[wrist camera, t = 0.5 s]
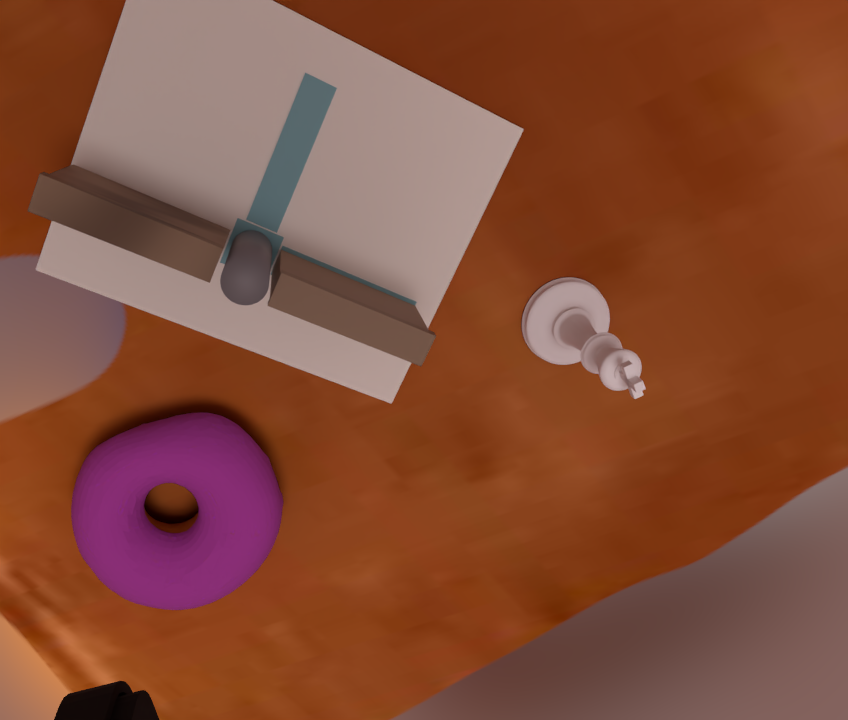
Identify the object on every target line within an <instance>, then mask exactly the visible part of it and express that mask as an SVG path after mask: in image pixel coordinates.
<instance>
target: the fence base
mask: <svg viewBox="0 0 848 720" xmlns="http://www.w3.org/2000/svg"><path fill="white" fill-rule="evenodd" d="M523 130H524V129H522V128H520V127H518V126H516V125H514V124H512V123H510V122H508V121H507V120H505V119H503V118H501V117H499V116H497V115H495V114H493V113H491V112H489V111H487V110H485V109H483V108H481V107H479V106H477V105H475V104H473V103H471V102H470V101H468V100H466V99H464V98H462V97H460V96H458V95H456V94H454V93H452V92H450V91H448V90H446V89H444V88H442V87H440V86H438V85H436V84H434V83H432V82H431V81H429V80H427V79H425V78H423V77H421V76H419V75H417V74H415V73H413V72H411V71H409V70H407V69H405V68H403V67H401V66H399V65H397V64H395V63H393V62H392V61H390V60H388V59H386V58H384V57H382V56H380V55H378V54H376V53H374V52H372V51H370V50H368V49H366V48H364V47H362V46H360V45H358V44H356V43H355V42H353V41H351V40H349V39H347V38H345V37H343V36H341V35H339V34H337V33H335V32H333V31H331V30H329V29H327V28H325V27H323V26H321V25H319V24H317V23H316V22H314V21H312V20H310V19H308V18H306V17H304V16H302V15H300V14H298V13H296V12H294V11H292V10H290V9H288V8H286V7H284V6H282V5H280V4H278V3H277V2H275V1H273V0H126V2H125V5H124V8H123V11H122V14H121V17H120V20H119V23H118V26H117V29H116V32H115V35H114V38H113V41H112V44H111V47H110V50H109V53H108V56H107V59H106V61H105V64H104V67H103V70H102V73H101V76H100V79H99V82H98V85H97V88H96V91H95V94H94V97H93V100H92V103H91V106H90V109H89V112H88V115H87V118H86V121H85V124H84V127H83V130H82V133H81V136H80V139H79V142H78V145H77V148H76V151H75V154H74V157H73V160H72V163H71V165H73V164H74V165H76V166H79V167H81V168H83V169H86V170H88V171H91V172H93V173H95V174H98V175H100V176H103V177H105V178H107V179H110V180H112V181H115V182H117V183H119V184H122V185H124V186H126V187H129V188H131V189H134V190H136V191H138V192H141V193H143V194H146V195H148V196H150V197H153V198H155V199H158V200H160V201H162V202H165V203H167V204H170V205H172V206H174V207H177V208H179V209H181V210H184V211H186V212H189V213H191V214H193V215H196V216H198V217H201V218H203V219H205V220H208V221H210V222H213V223H215V224H217V225H220V226H222V227H225V228H227V229H229V230H230V233H229V235H228V238H227V241H226V243H225V246H224V248H223V251H222V253H221V256H220V258H219V261H218V263H217V266H216V268H215V271H214V273H213V276H212V278H211V281H210V283H209V282H206V281H203V280H201V279H198V278H196V277H193V276H191V275H188V274H186V273H183V272H181V271H178V270H176V269H173V268H171V267H168V266H165V265H163V264H160V263H158V262H155V261H153V260H150V259H148V258H145V257H143V256H140V255H138V254H135V253H133V252H130V251H128V250H125V249H122V248H120V247H117V246H115V245H112V244H110V243H107V242H105V241H102V240H100V239H97V238H95V237H92V236H90V235H87V234H84V233H82V232H79V231H77V230H74V229H72V228H69V227H67V226H64V225H62V224H59V223H57V222H54V221H52V222H51V225H50V228H49V231H48V234H47V237H46V240H45V243H44V246H43V249H42V252H41V255H40V258H39V261H38V264H37V267H36V270H37V271H39V272H42V273H45V274H47V275H50V276H53V277H56V278H58V279H61V280H64V281H66V282H69V283H71V284H74V285H77V286H79V287H82V288H85V289H87V290H90V291H93V292H95V293H98V294H101V295H103V296H106V297H108V298H111V299H114V300H117V301H119V302H122V303H124V304H127V305H130V306H132V307H135V308H138V309H140V310H143V311H146V312H148V313H151V314H154V315H156V316H159V317H162V318H164V319H167V320H170V321H172V322H175V323H178V324H180V325H183V326H186V327H188V328H191V329H194V330H196V331H199V332H202V333H204V334H207V335H210V336H212V337H215V338H218V339H220V340H223V341H226V342H228V343H231V344H234V345H236V346H239V347H242V348H244V349H247V350H250V351H252V352H255V353H258V354H260V355H263V356H266V357H268V358H271V359H274V360H276V361H279V362H282V363H284V364H287V365H290V366H292V367H295V368H298V369H300V370H303V371H306V372H308V373H311V374H314V375H316V376H319V377H322V378H324V379H327V380H330V381H332V382H335V383H338V384H340V385H343V386H346V387H348V388H351V389H354V390H356V391H359V392H362V393H364V394H367V395H370V396H372V397H375V398H378V399H380V400H383V401H386V402H388V403H391V404H392V402H393V400H394V398H395V395H396V393H397V391H398V389H399V387H400V385H401V383H402V381H403V379H404V377H405V375H406V373H407V371H408V369H409V366H410V364H411V363H414V364H416V365H419V366H422V364H423V362H424V360H425V358H426V356H427V354H428V351H429V349H430V347H431V345H432V343H433V341H434V339H435V337H436V335H435V333H434V332H432V331H430V330H428V327H429V325H430V323H431V321H432V319H433V317H434V315H435V313H436V310H437V308H438V306H439V304H440V302H441V300H442V298H443V296H444V294H445V292H446V290H447V288H448V286H449V283H450V281H451V279H452V277H453V275H454V273H455V271H456V269H457V267H458V265H459V263H460V261H461V259H462V257H463V254H464V252H465V250H466V248H467V246H468V244H469V242H470V240H471V238H472V236H473V234H474V232H475V230H476V227H477V225H478V223H479V221H480V219H481V217H482V215H483V213H484V211H485V209H486V207H487V205H488V203H489V201H490V198H491V196H492V194H493V192H494V190H495V188H496V186H497V184H498V182H499V180H500V178H501V176H502V174H503V171H504V169H505V167H506V165H507V163H508V161H509V159H510V157H511V155H512V153H513V151H514V149H515V147H516V145H517V142H518V140H519V138H520V136H521V134H522V132H523Z"/></svg>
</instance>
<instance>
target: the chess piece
mask: <svg viewBox="0 0 848 720" xmlns="http://www.w3.org/2000/svg"><path fill="white" fill-rule="evenodd" d="M609 323H610V314H609V308H608V305H607V303H606V301H605V299H604V297H603V296H602V294H601V293H600V292H599V290H598V289H597V288H596V287H595V286H593V285H592V284H591V283H589V282H587V281H585V280H582V279H579V278H573V277H566V278H559V279H556V280H553V281H550V282H548V283H547V284H545V285H543V286H542V287H541V288H539V289H538V290H537V291H536V292H535V293H534V294H533V295H532V297H531V298H530V299H529V301H528V303H527V305H526V307H525V309H524V312H523V316H522V333H523V337H524V340H525V342H526V344H527V345H528V347H529V348H530V350H531V351H532V352H533V353H534V354H536V355H537V356H538V357H540V358H542V359H544V360H545V361H547V362H550V363H553V364H559V365H568V364H573V363H577V362H580V361H581V362H582V364H583V366H584V367H585V369H587V370H588V371H589V372H591V373H595V374H599V376H600V379H601V381H602V383H603V384H604V385H605V386H606V387H607V388H609V389H611V390H615V391H621V390H625V389H629V392H630V394H631V396H632V397H633V398H634V399H637V398H639V397H641V396H643V392H642V390H644V389H645V386H644V383H643V380H641V379H640V378H639V377H640V374H641V369H642V365H641V361H640V359H639V357H638V356H637V355H636V354H635V353H634V352H632V351H630V350H627V349H623V348H622V345H621V342H620V340H619V339H618V338H617V337H616V336H615V335H613V334H611V333H607V332H608V329H609Z"/></svg>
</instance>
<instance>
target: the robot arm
mask: <svg viewBox="0 0 848 720" xmlns="http://www.w3.org/2000/svg"><path fill="white" fill-rule="evenodd" d="M54 720H159V718H158V715H157V713H156V710H155V707H154V705H153V702H152V700H151V698H150V696H149V694H148V693H147V692H146V691H144V690H142V691H138V692H134V693H133V692H132V690H131V688H130V686H129V685H128V684H127V683H126V682H124V681H118V682H114V683H110V684H106V685H102V686H98V687H94V688H90V689H86V690H82V691H78V692H74V693H70V694H68V695H67V696H65V697H64V698H63V700H62V702H61V704H60V706H59V708H58V711H57V713H56V717H55V719H54Z"/></svg>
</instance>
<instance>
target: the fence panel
mask: <svg viewBox="0 0 848 720" xmlns="http://www.w3.org/2000/svg"><path fill="white" fill-rule="evenodd" d="M28 211H29V212H31V213H34V214H36V215H39V216H41V217H44V218H47V219H49V220H52V221H54V222H57V223H59V224H62V225H64V226H67V227H69V228H72V229H74V230H77V231H79V232H82V233H84V234H87V235H90V236H92V237H95V238H97V239H100V240H102V241H105V242H107V243H110V244H112V245H115V246H117V247H120V248H122V249H125V250H128V251H130V252H133V253H135V254H138V255H140V256H143V257H145V258H148V259H150V260H153V261H155V262H158V263H160V264H163V265H165V266H168V267H171V268H173V269H176V270H178V271H181V272H183V273H186V274H188V275H191V276H193V277H196V278H198V279H201V280H203V281H206V282H209V283H210V281H211V278H212V276H213V273H214V271H215V268H216V266H217V263H218V261H219V258H220V256H221V253H222V251H223V248H224V246H225V243H226V241H227V238H228V235H229V233H230V230H229V229H227V228H225V227H222V226H220V225H217V224H215V223H213V222H210V221H208V220H205V219H203V218H201V217H198V216H196V215H193V214H191V213H189V212H186V211H184V210H181V209H179V208H177V207H174V206H172V205H170V204H167V203H165V202H162V201H160V200H158V199H155V198H153V197H150V196H148V195H146V194H143V193H141V192H138V191H136V190H134V189H131V188H129V187H126V186H124V185H122V184H119V183H117V182H115V181H112V180H110V179H107V178H105V177H103V176H100V175H98V174H95V173H93V172H91V171H88V170H86V169H83V168H81V167H79V166H76V165H74V164H73V165H71V166H68V167H66V168H63V169H61V170H58V171H55V172H53V173H50V174H48V173H45V172H43V173H40V174H39V177H38V180H37V184H36V187H35V190H34V193H33V196H32V199H31V202H30V205H29V208H28Z"/></svg>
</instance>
